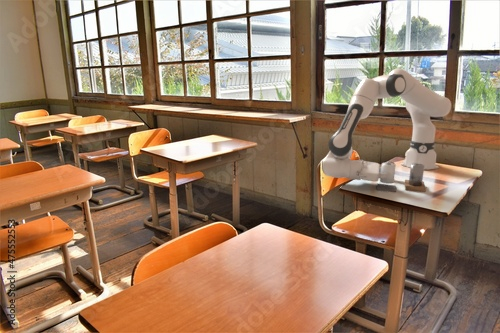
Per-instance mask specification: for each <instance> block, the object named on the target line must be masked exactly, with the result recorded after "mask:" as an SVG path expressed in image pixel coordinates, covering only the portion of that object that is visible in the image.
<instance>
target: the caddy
mask: <svg viewBox="0 0 500 333" xmlns="http://www.w3.org/2000/svg"><path fill="white" fill-rule="evenodd" d="M426 188H427V187H426V185H425V181H424V180H422V186H412V185H409V179H405V180H404V190H405V191H411V192H420V193H426Z"/></svg>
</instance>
